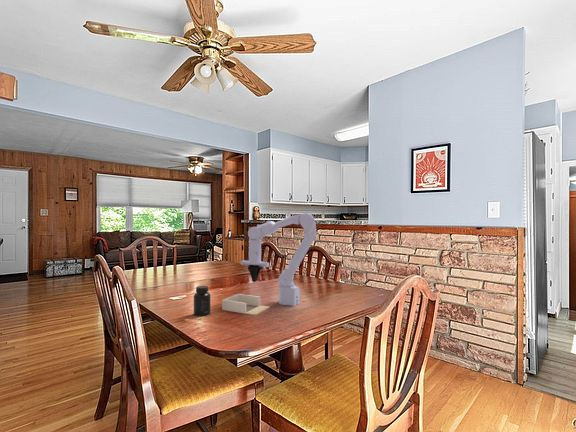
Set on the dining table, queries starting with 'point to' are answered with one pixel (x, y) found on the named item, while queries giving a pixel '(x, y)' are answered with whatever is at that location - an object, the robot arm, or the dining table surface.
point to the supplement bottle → (202, 301)
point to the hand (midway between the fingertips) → (254, 281)
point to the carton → (241, 303)
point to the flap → (258, 310)
